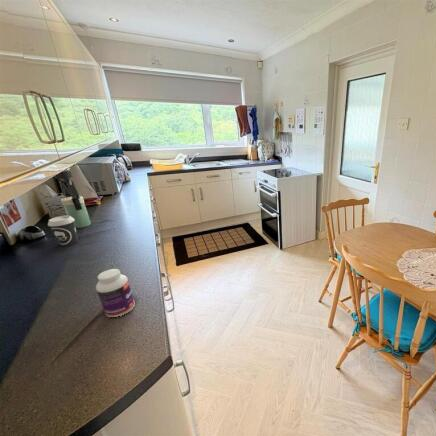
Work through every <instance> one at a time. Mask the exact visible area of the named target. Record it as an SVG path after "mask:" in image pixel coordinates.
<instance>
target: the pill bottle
mask: <svg viewBox="0 0 436 436" xmlns="http://www.w3.org/2000/svg"><path fill="white" fill-rule="evenodd" d="M97 280H98V282H97V283H96V285H95V291H96V293H97V295H98V299H99V300H100V303H101V306H102V309H103V311H104V314H105V315H106V316H107V318H110V317H117V318H119V317H118V316H120V317H123V316H125V315H127V314H128V312H129V311H130V312H131V311H132V310H133V309H134V308H135V305H136V302H135V299H134V295H133V292H132V289H131V286H130V283H129V279H128V277H127V276H126V275H125V274H122V273H121V270H120V269H118V268H110V269H107V270H104V271H102V272H100V273H99V274H98V275H97ZM133 307H134V308H133ZM130 312H129V313H130ZM126 313H127V314H126ZM124 314H125V315H124ZM122 315H123V316H122Z"/></svg>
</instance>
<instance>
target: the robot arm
mask: <svg viewBox="0 0 436 436" xmlns="http://www.w3.org/2000/svg"><path fill="white" fill-rule="evenodd" d="M73 177H74V175H73V171H72V170H71V167H70V168H68V169H67V170H65V171H63V172H61V173H60V174H58V175H56V176H54V179H58V180H57V181H58V183H59V186H60V189H61V192H62V195H63V196H64V198H66V197H72V199H71V200H72V201H73V203H74V206H75V209H76V211H77V210H81V209H82V207H81V204H80V201H79V198H80V197H79V196H80V195H79V192H78V190H77V188H76V186H75V183H74V181H73V180H71V179H70V178H73ZM75 196H76V197H75Z"/></svg>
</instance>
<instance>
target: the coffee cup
mask: <svg viewBox="0 0 436 436" xmlns="http://www.w3.org/2000/svg"><path fill="white" fill-rule="evenodd" d="M74 221H75V220H74V218H72V217H71V216H68V215H60V216H54V217H52V218H50V219H48V222H47V227H49V228H51V231H52V232H53V234H54V236H55V238H56V239H57V241H58V243H59V245H60V246H61V247H66V246H68V247H69V246H72V245H75V244H77V243H78V242H79V237H78V232H77V228H75V224H74Z"/></svg>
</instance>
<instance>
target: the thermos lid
mask: <svg viewBox="0 0 436 436" xmlns="http://www.w3.org/2000/svg"><path fill="white" fill-rule="evenodd" d="M75 197H76V196H75ZM79 197H80V198H79V201H80V203H83V202H84V203H85V199H84V196H82V195H79ZM71 199H72V197H63V198H61V199H60V201H61V204H62V205H63V206H64V205H74V203H73V201H72V200H71Z"/></svg>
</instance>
